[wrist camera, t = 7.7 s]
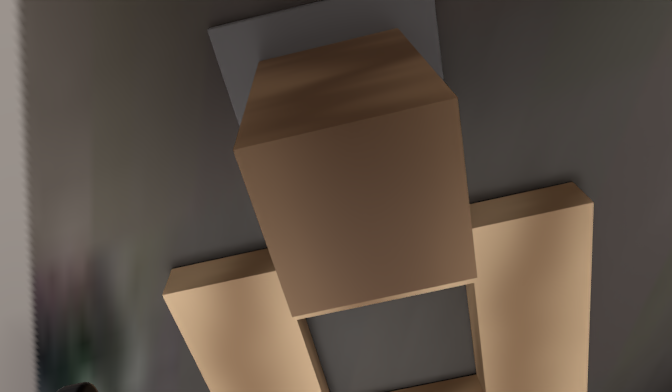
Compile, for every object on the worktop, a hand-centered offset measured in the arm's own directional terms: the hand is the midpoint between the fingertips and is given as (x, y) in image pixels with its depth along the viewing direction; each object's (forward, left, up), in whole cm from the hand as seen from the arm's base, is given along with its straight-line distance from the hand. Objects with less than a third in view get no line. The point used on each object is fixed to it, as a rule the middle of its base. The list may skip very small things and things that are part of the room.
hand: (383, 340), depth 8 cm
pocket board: (0, +11, -11) cm, 16 cm away
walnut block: (0, 0, -11) cm, 11 cm away
